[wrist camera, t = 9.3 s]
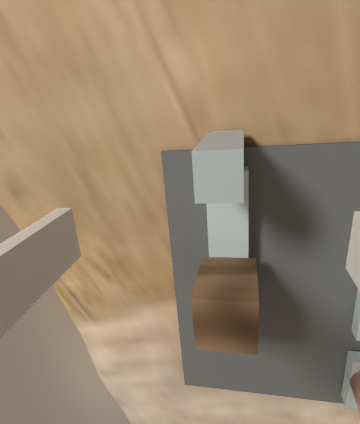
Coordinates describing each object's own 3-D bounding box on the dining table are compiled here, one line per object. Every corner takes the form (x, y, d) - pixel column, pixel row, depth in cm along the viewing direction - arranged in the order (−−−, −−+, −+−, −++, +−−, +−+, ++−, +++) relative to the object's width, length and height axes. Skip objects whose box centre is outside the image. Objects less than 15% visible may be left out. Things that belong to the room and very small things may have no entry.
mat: (162, 150, 31) (161, 151, 30) (492, 135, 25) (496, 135, 24) (185, 381, 42) (184, 384, 42) (415, 409, 36) (417, 412, 36)
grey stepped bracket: (204, 131, 28) (185, 151, 19) (248, 128, 28) (250, 148, 18) (213, 309, 36) (202, 387, 26) (248, 311, 35) (249, 392, 25)
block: (201, 256, 32) (190, 298, 25) (256, 258, 30) (259, 302, 24) (204, 300, 34) (195, 349, 27) (255, 303, 32) (258, 355, 26)
